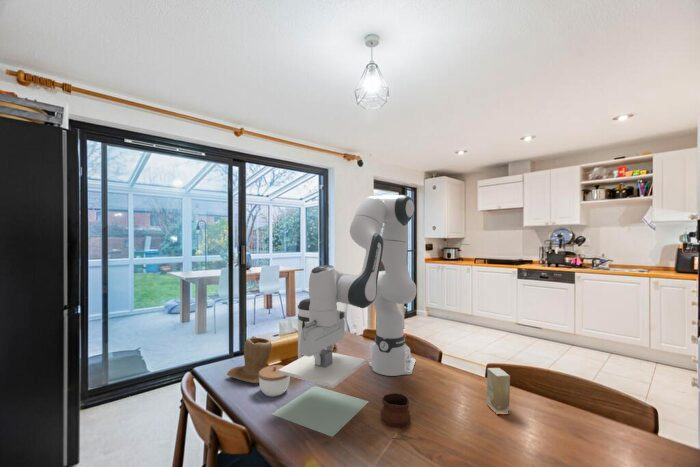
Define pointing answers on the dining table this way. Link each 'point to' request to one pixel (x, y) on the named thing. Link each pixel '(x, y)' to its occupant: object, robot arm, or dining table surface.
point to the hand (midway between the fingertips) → (323, 360)
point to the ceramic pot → (396, 411)
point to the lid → (323, 368)
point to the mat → (321, 410)
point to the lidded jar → (273, 381)
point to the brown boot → (252, 360)
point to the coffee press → (302, 319)
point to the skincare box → (498, 389)
